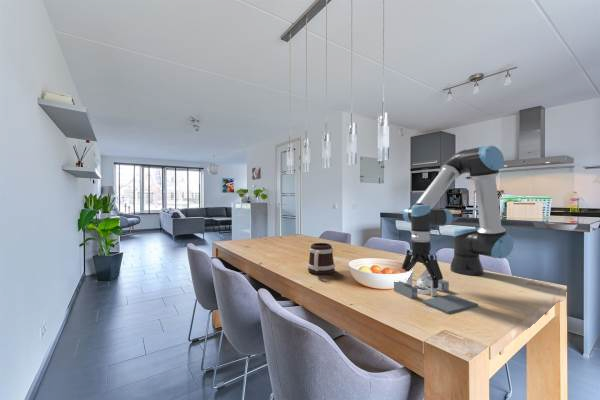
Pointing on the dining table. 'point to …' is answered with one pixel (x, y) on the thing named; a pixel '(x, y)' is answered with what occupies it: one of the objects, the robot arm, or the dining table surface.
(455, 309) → the mat
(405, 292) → the grey blocks
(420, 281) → the hook
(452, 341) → the dining table surface
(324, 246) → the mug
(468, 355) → the dining table surface
